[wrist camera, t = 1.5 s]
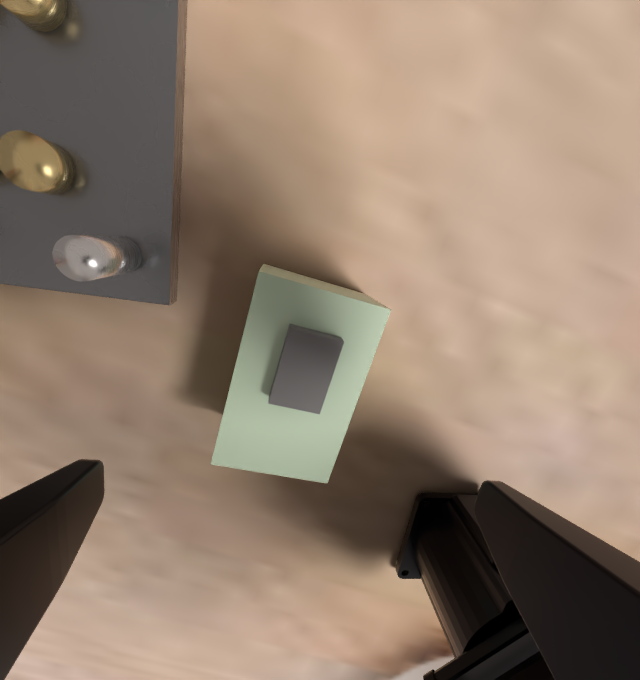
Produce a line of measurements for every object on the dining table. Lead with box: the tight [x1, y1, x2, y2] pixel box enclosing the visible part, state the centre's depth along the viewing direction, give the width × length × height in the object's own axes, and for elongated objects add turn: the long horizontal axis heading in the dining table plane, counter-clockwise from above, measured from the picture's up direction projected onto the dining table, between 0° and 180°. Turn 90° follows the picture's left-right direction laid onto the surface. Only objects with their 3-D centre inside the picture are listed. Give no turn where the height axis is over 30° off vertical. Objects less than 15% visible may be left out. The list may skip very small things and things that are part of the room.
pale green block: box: [211, 264, 391, 483], centre depth 14 cm, size 8×5×5 cm, turn 163°
